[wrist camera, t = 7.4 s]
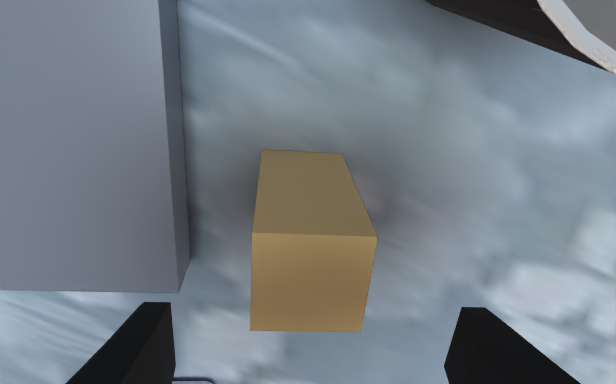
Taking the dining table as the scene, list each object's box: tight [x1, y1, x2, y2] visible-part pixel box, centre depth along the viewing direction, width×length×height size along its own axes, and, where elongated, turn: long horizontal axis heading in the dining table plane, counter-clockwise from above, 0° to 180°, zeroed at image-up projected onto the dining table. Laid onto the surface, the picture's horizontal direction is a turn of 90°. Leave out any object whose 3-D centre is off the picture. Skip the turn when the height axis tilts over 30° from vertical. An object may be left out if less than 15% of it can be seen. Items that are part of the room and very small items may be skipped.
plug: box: [250, 150, 378, 332], centre depth 15 cm, size 4×4×7 cm
